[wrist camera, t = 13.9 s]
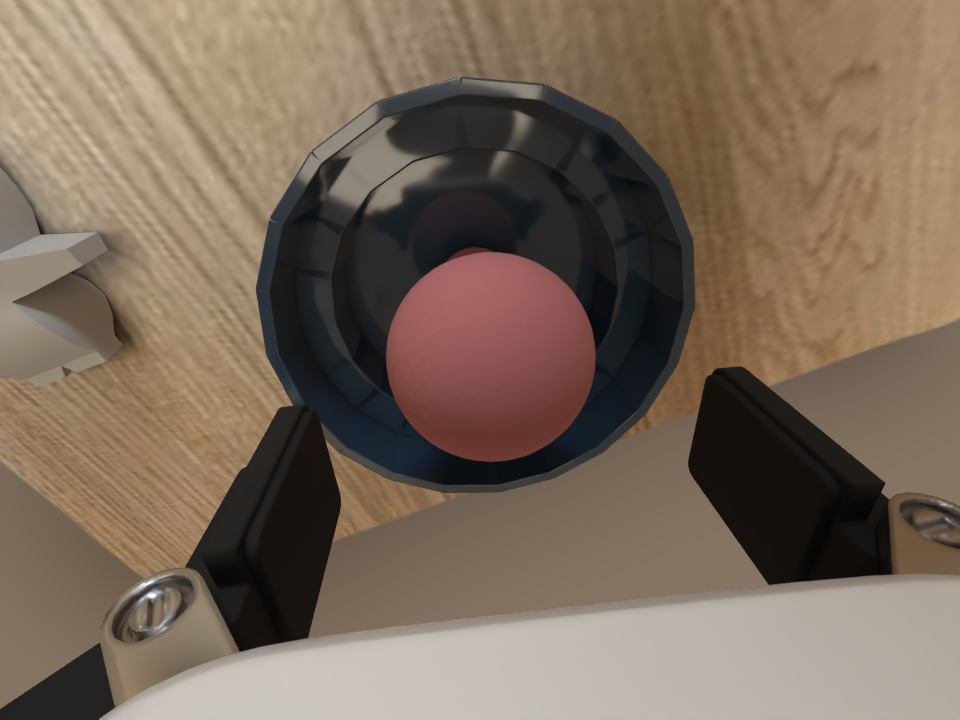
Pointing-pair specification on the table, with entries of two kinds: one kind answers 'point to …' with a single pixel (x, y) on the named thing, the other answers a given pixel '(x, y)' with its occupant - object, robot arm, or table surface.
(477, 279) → the light bulb
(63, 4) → the table surface
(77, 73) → the table surface
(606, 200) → the dark grey round tub
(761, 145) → the table surface
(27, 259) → the bunny figurine
